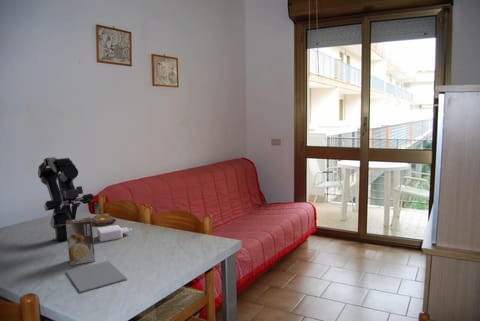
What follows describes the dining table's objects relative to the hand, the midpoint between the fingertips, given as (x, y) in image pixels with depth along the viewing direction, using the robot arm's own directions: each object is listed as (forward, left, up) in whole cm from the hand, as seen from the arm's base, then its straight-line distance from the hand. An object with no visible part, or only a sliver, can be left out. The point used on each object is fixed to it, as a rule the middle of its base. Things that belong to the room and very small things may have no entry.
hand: (73, 221), depth 156 cm
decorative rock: (-22, +34, -13) cm, 43 cm away
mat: (+30, -15, -12) cm, 35 cm away
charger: (+3, +20, -12) cm, 23 cm away
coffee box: (+13, -7, -12) cm, 19 cm away
